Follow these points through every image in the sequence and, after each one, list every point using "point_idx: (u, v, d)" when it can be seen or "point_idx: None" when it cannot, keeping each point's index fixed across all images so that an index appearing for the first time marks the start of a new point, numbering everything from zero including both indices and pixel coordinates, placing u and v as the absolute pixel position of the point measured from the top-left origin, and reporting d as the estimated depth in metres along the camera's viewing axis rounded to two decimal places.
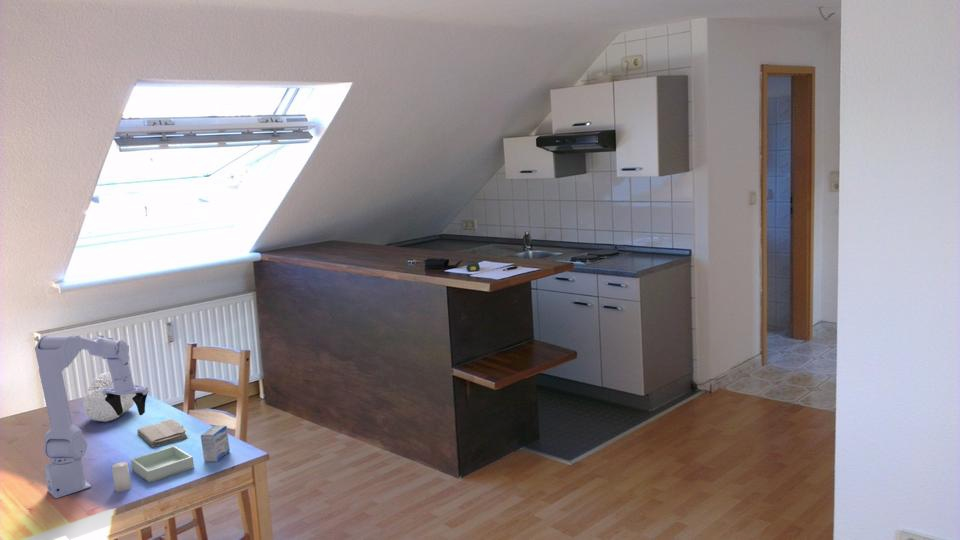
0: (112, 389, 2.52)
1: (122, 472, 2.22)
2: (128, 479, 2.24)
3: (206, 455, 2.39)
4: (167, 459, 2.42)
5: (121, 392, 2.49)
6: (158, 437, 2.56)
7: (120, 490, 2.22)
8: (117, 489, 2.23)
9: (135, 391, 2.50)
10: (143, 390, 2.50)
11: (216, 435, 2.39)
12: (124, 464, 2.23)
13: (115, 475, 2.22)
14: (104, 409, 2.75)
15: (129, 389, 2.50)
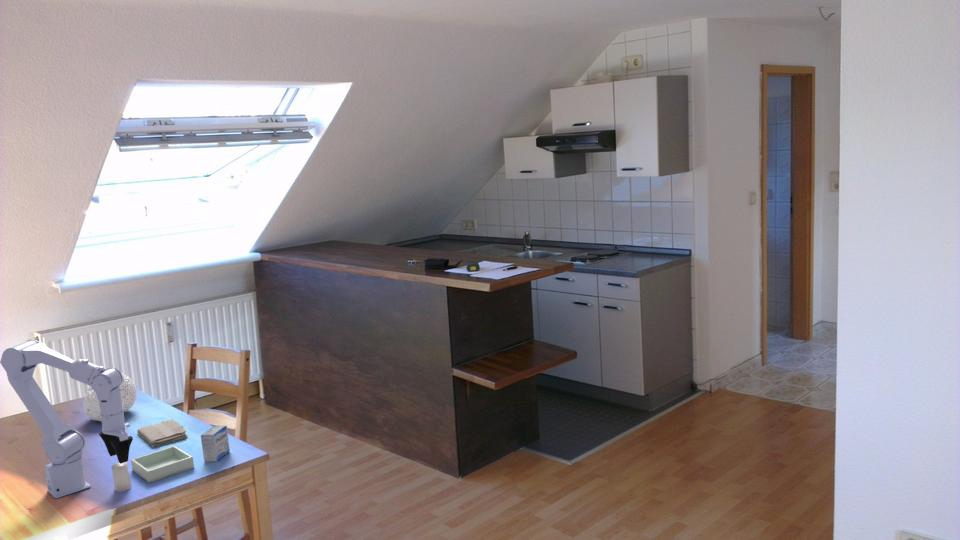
0: None
1: (122, 472, 2.22)
2: (128, 479, 2.24)
3: (206, 455, 2.39)
4: (167, 459, 2.42)
5: (104, 430, 2.19)
6: (158, 437, 2.56)
7: (120, 490, 2.22)
8: (117, 489, 2.23)
9: (114, 434, 2.17)
10: (119, 435, 2.16)
11: (216, 435, 2.39)
12: (124, 464, 2.23)
13: (115, 475, 2.22)
14: None
15: (112, 430, 2.19)
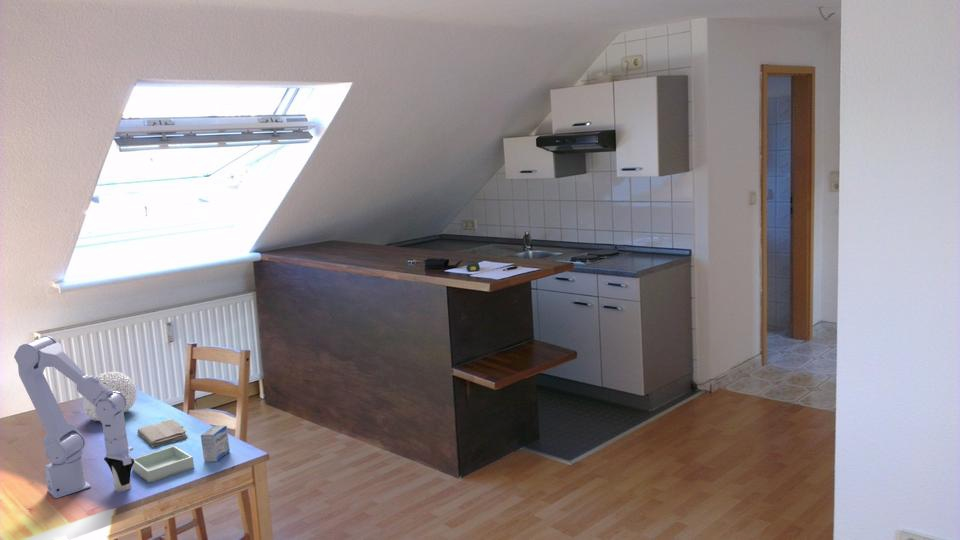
0: None
1: None
2: None
3: (206, 455, 2.39)
4: (167, 459, 2.42)
5: (107, 454, 2.20)
6: (158, 437, 2.56)
7: (120, 490, 2.22)
8: (117, 489, 2.23)
9: (117, 458, 2.18)
10: (123, 460, 2.17)
11: (216, 435, 2.39)
12: None
13: (115, 475, 2.22)
14: None
15: (115, 454, 2.20)
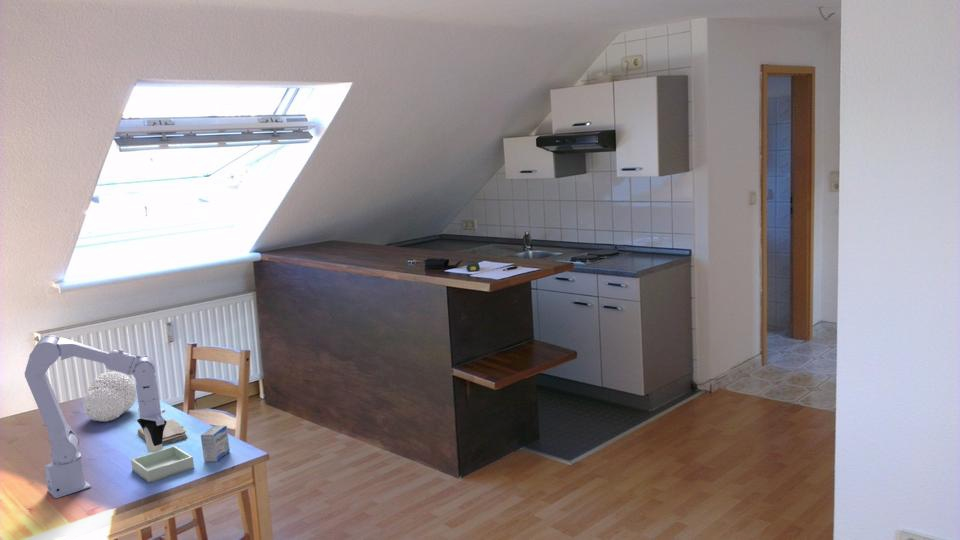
0: None
1: None
2: None
3: (206, 455, 2.39)
4: (167, 459, 2.42)
5: (141, 416, 2.29)
6: None
7: (153, 451, 2.31)
8: (150, 450, 2.31)
9: (151, 419, 2.27)
10: (156, 420, 2.26)
11: (216, 435, 2.39)
12: None
13: (147, 436, 2.30)
14: (104, 409, 2.75)
15: (148, 415, 2.29)
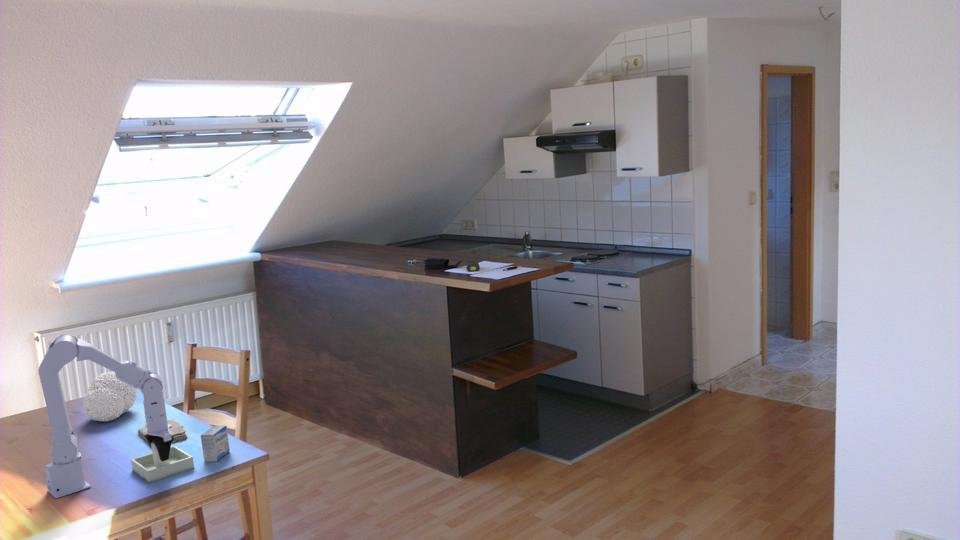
0: None
1: None
2: None
3: (206, 455, 2.39)
4: None
5: (148, 431, 2.32)
6: None
7: (160, 466, 2.34)
8: (157, 465, 2.34)
9: (158, 435, 2.30)
10: (163, 436, 2.28)
11: (216, 435, 2.39)
12: None
13: (154, 452, 2.33)
14: (104, 409, 2.75)
15: (156, 431, 2.31)
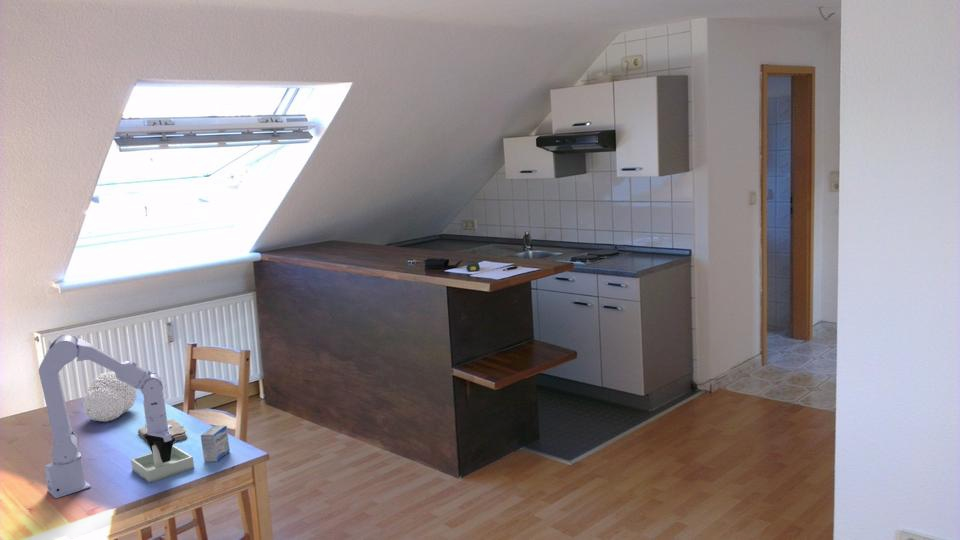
0: None
1: None
2: None
3: (206, 455, 2.39)
4: None
5: (148, 432, 2.32)
6: None
7: None
8: None
9: (158, 435, 2.30)
10: (163, 436, 2.28)
11: (216, 435, 2.39)
12: None
13: (155, 454, 2.33)
14: (104, 409, 2.75)
15: (156, 431, 2.31)
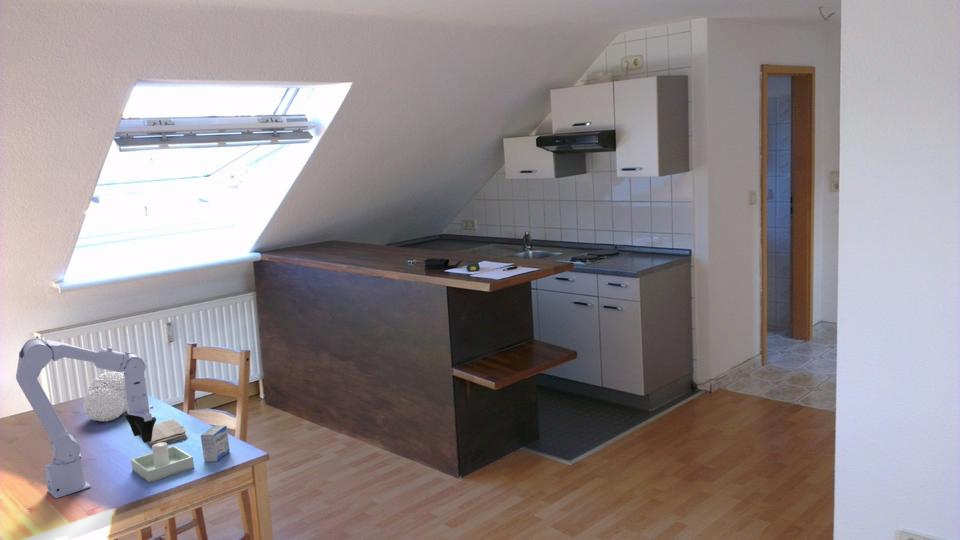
0: None
1: (162, 451, 2.33)
2: (168, 458, 2.35)
3: (206, 455, 2.39)
4: None
5: (129, 411, 2.32)
6: (158, 437, 2.56)
7: None
8: None
9: (138, 415, 2.30)
10: (144, 416, 2.29)
11: (216, 435, 2.39)
12: (164, 444, 2.35)
13: (155, 454, 2.33)
14: (104, 409, 2.75)
15: (136, 411, 2.32)
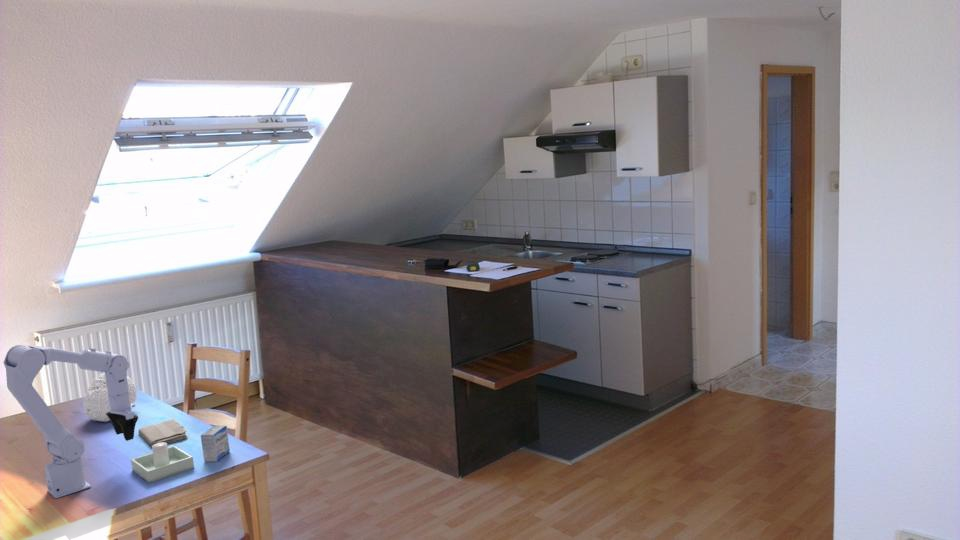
0: None
1: (162, 451, 2.33)
2: (167, 458, 2.35)
3: (206, 455, 2.39)
4: None
5: (111, 410, 2.34)
6: (158, 437, 2.56)
7: None
8: None
9: (120, 413, 2.33)
10: (125, 414, 2.31)
11: (216, 435, 2.39)
12: (164, 444, 2.35)
13: (155, 454, 2.33)
14: (104, 409, 2.75)
15: (118, 409, 2.34)
